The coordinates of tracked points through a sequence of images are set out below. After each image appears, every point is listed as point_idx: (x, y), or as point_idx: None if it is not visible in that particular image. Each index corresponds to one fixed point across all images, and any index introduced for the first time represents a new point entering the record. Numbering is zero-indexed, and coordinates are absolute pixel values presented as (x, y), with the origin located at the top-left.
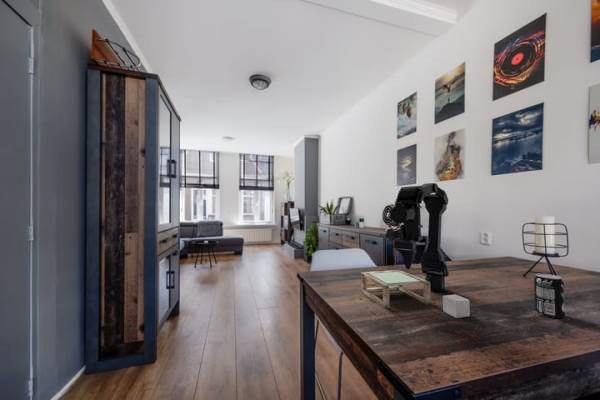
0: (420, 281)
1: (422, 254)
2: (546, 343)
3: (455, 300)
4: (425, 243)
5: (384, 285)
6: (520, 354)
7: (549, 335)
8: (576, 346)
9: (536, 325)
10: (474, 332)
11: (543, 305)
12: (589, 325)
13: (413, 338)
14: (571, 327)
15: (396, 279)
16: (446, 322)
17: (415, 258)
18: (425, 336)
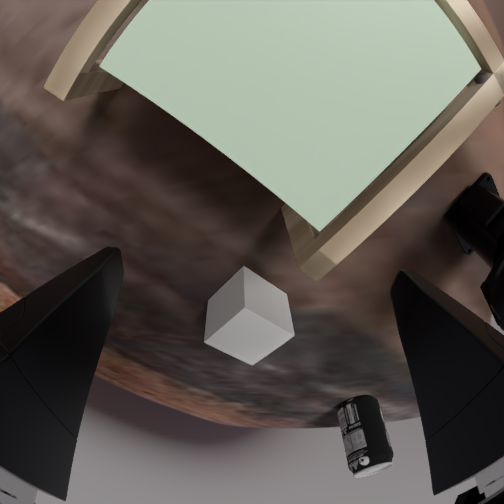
0: (336, 225)
1: (421, 397)
2: (198, 401)
3: (215, 341)
4: (465, 497)
5: (48, 79)
6: (118, 374)
7: (240, 406)
8: (219, 417)
9: (280, 398)
10: (143, 333)
11: (346, 419)
12: (326, 425)
13: (5, 234)
14: (303, 418)
15: (255, 76)
16: (148, 283)
17: (426, 308)
18: (31, 253)
